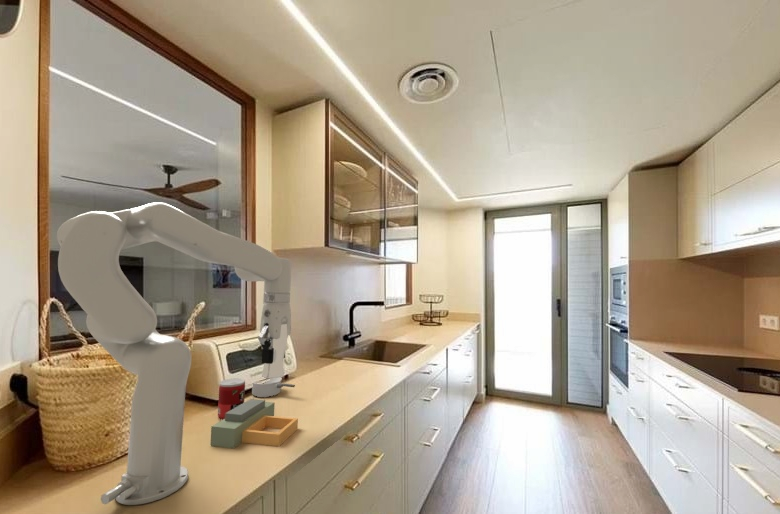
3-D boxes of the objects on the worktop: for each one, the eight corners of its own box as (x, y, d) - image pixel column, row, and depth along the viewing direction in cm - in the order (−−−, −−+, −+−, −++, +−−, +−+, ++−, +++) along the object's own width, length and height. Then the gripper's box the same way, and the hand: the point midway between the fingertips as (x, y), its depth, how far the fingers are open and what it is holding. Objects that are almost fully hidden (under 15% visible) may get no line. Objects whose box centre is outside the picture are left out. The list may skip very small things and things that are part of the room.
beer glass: (290, 374, 96) (292, 323, 98) (270, 380, 91) (273, 325, 92) (275, 371, 100) (277, 321, 102) (255, 376, 94) (258, 323, 96)
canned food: (233, 421, 103) (235, 385, 104) (211, 419, 105) (213, 384, 106) (248, 412, 111) (250, 379, 112) (228, 410, 112) (229, 377, 113)
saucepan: (281, 405, 118) (282, 389, 118) (244, 396, 127) (244, 381, 127) (304, 395, 128) (304, 381, 128) (267, 388, 137) (268, 374, 138)
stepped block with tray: (271, 452, 84) (272, 424, 85) (210, 445, 88) (211, 418, 88) (305, 421, 104) (306, 398, 104) (254, 416, 107) (255, 394, 108)
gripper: (272, 300, 88) (269, 368, 87) (301, 298, 105) (299, 355, 104) (247, 299, 90) (243, 366, 88) (280, 298, 107) (277, 354, 105)
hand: (273, 360), depth 96 cm, fingers closed on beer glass, 6 cm apart
